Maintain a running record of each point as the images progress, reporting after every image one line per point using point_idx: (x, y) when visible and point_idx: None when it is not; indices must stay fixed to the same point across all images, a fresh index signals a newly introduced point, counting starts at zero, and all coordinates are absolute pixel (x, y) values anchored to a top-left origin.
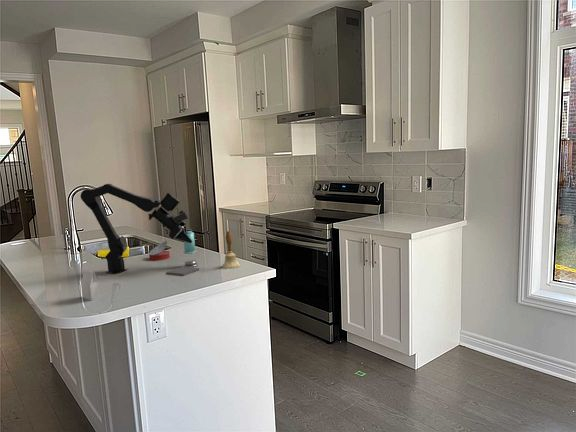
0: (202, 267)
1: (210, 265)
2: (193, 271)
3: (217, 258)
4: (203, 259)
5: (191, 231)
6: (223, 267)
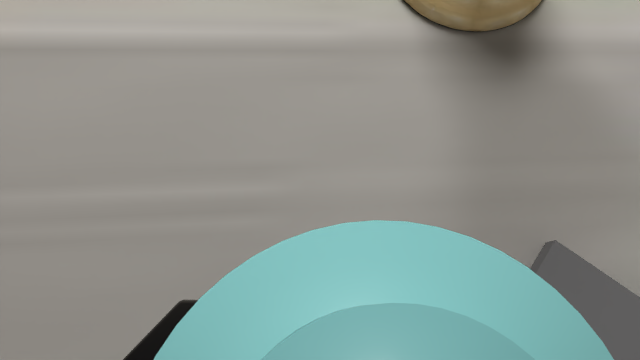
0: (440, 214)
1: (376, 136)
2: (633, 298)
3: (69, 70)
4: (39, 221)
5: (366, 331)
6: (522, 15)
